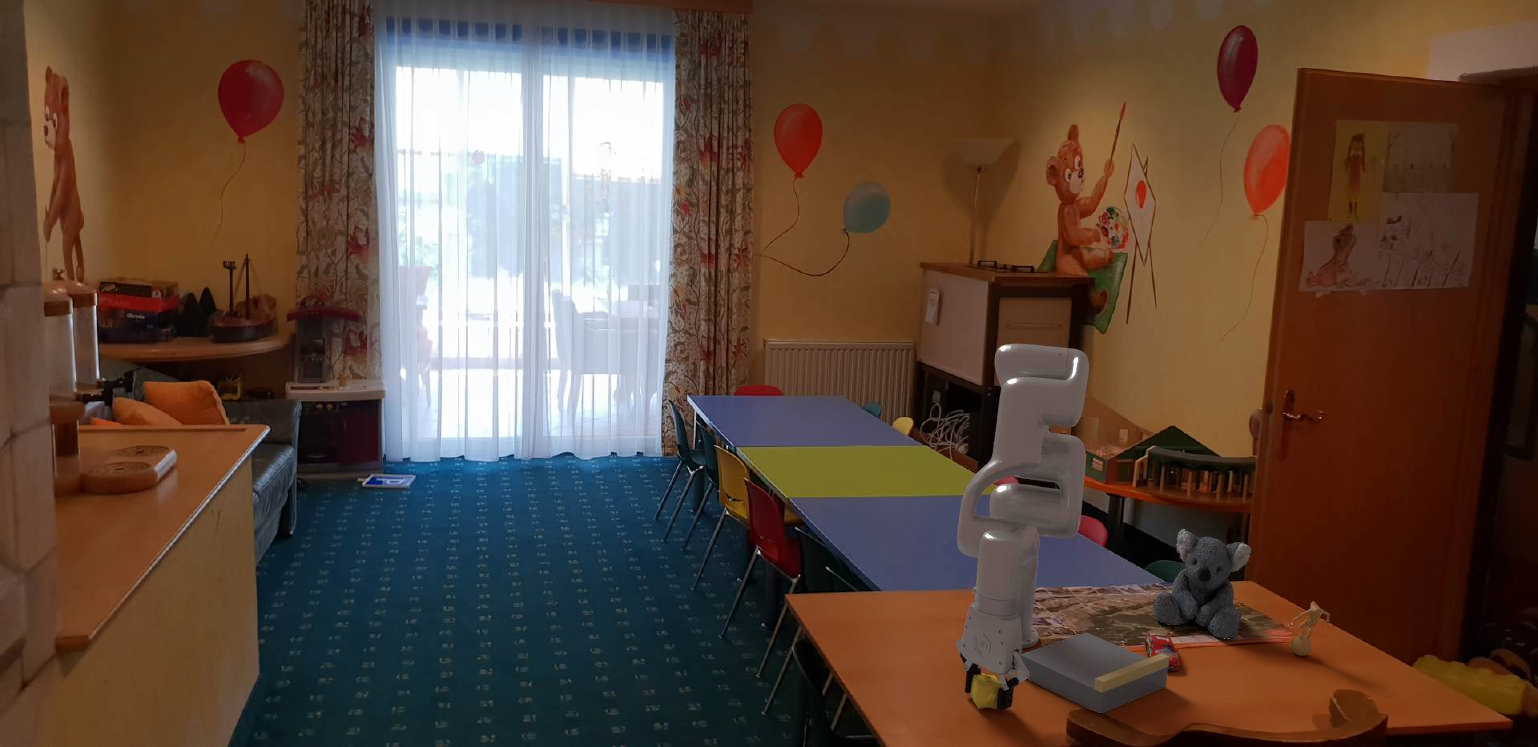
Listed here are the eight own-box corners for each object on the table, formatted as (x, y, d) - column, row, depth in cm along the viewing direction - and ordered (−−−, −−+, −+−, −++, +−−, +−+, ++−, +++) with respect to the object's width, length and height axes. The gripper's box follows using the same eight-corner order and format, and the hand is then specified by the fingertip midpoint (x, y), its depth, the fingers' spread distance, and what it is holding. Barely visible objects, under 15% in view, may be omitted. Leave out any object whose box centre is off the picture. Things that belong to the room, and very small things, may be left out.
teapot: (1011, 716, 186) (1014, 688, 185) (978, 715, 185) (981, 687, 184) (998, 694, 194) (1001, 667, 193) (966, 694, 193) (969, 666, 192)
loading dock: (1017, 674, 202) (1020, 644, 201) (1084, 651, 214) (1087, 622, 213) (1099, 714, 188) (1102, 681, 187) (1165, 686, 200) (1169, 656, 199)
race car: (1180, 676, 206) (1183, 656, 205) (1150, 672, 207) (1153, 652, 207) (1171, 648, 219) (1174, 629, 218) (1143, 644, 220) (1145, 625, 219)
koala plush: (1148, 623, 231) (1158, 535, 227) (1167, 599, 246) (1177, 515, 242) (1235, 644, 222) (1247, 553, 218) (1249, 618, 237) (1261, 531, 233)
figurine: (1312, 650, 221) (1320, 594, 219) (1331, 663, 215) (1340, 605, 213) (1275, 651, 219) (1282, 594, 217) (1293, 664, 214) (1301, 606, 211)
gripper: (944, 590, 191) (936, 685, 194) (1022, 624, 178) (1012, 726, 181) (973, 582, 196) (965, 675, 199) (1051, 615, 182) (1041, 714, 185)
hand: (987, 698), depth 190 cm, fingers closed on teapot, 6 cm apart
